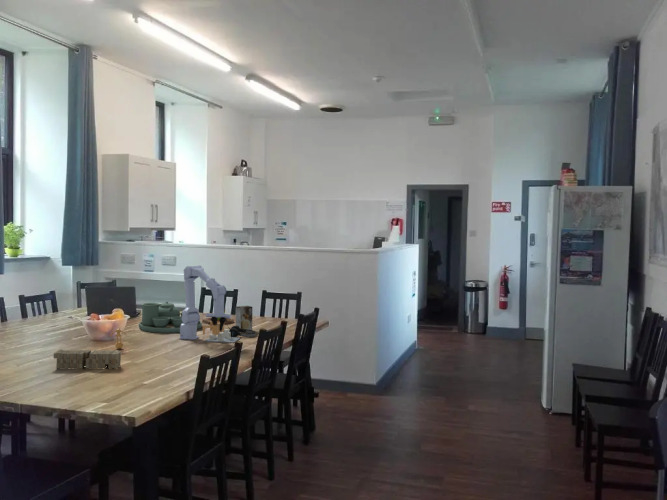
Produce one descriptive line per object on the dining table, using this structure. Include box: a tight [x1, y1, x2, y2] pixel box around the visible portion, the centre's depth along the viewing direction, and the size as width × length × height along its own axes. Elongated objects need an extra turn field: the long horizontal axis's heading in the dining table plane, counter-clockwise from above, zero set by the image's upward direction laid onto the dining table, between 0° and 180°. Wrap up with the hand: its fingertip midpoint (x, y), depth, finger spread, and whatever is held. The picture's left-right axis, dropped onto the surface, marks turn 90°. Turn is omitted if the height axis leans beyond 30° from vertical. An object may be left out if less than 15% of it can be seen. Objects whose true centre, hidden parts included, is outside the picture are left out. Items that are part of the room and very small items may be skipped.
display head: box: [203, 328, 241, 344], centre depth 347 cm, size 18×14×5 cm
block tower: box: [53, 348, 122, 369], centre depth 276 cm, size 8×8×29 cm
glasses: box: [202, 322, 225, 335], centre depth 334 cm, size 8×13×5 cm, turn 172°
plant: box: [201, 309, 235, 326], centre depth 407 cm, size 20×20×11 cm
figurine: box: [110, 327, 127, 350], centre depth 315 cm, size 8×6×12 cm
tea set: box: [138, 301, 203, 334], centre depth 383 cm, size 40×40×16 cm
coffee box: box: [235, 305, 253, 330], centre depth 378 cm, size 9×6×16 cm
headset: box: [225, 319, 257, 338], centre depth 362 cm, size 14×10×20 cm
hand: (218, 330), depth 334 cm, fingers closed on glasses, 2 cm apart
